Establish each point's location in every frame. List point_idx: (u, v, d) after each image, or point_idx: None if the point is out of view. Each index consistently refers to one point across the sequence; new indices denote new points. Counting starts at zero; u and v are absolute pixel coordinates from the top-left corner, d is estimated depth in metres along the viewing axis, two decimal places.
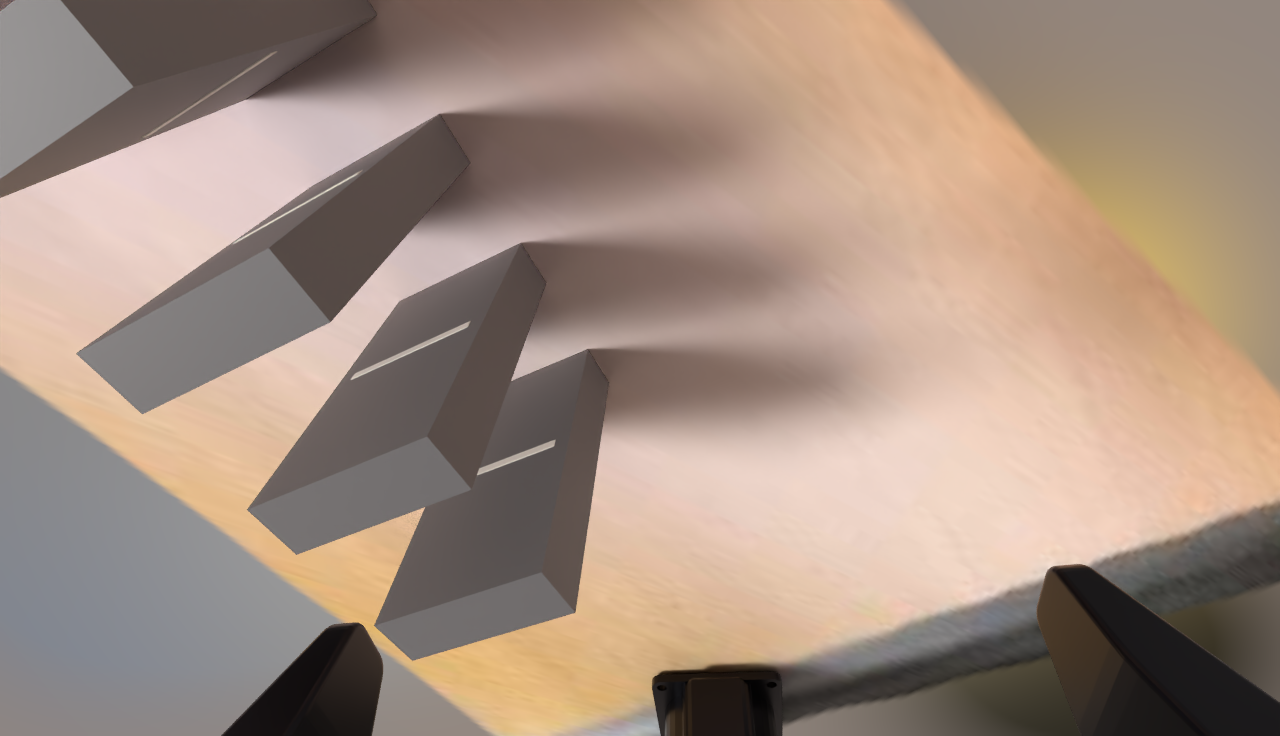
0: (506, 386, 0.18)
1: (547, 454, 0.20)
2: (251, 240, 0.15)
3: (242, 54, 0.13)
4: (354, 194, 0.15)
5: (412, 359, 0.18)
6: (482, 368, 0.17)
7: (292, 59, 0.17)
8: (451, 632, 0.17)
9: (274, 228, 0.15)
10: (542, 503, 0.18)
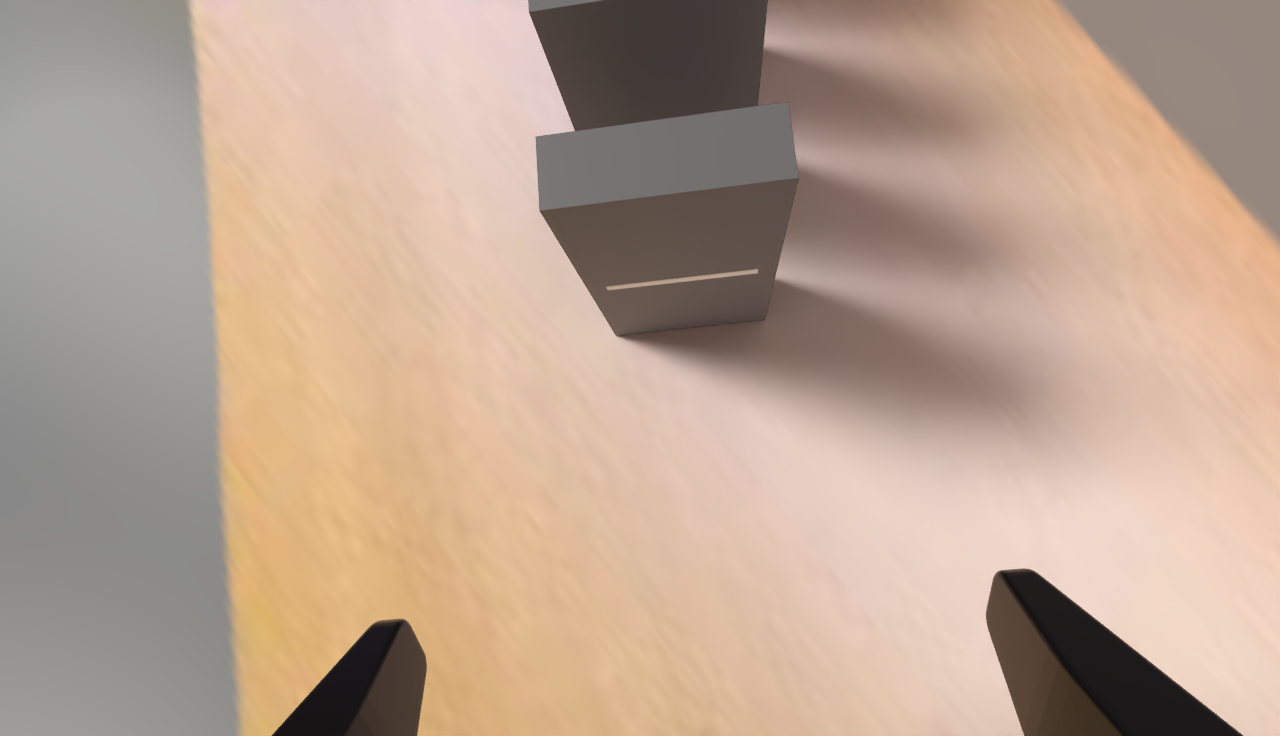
0: (759, 84, 0.17)
1: None
2: None
3: None
4: None
5: None
6: None
7: None
8: (622, 172, 0.13)
9: None
10: None
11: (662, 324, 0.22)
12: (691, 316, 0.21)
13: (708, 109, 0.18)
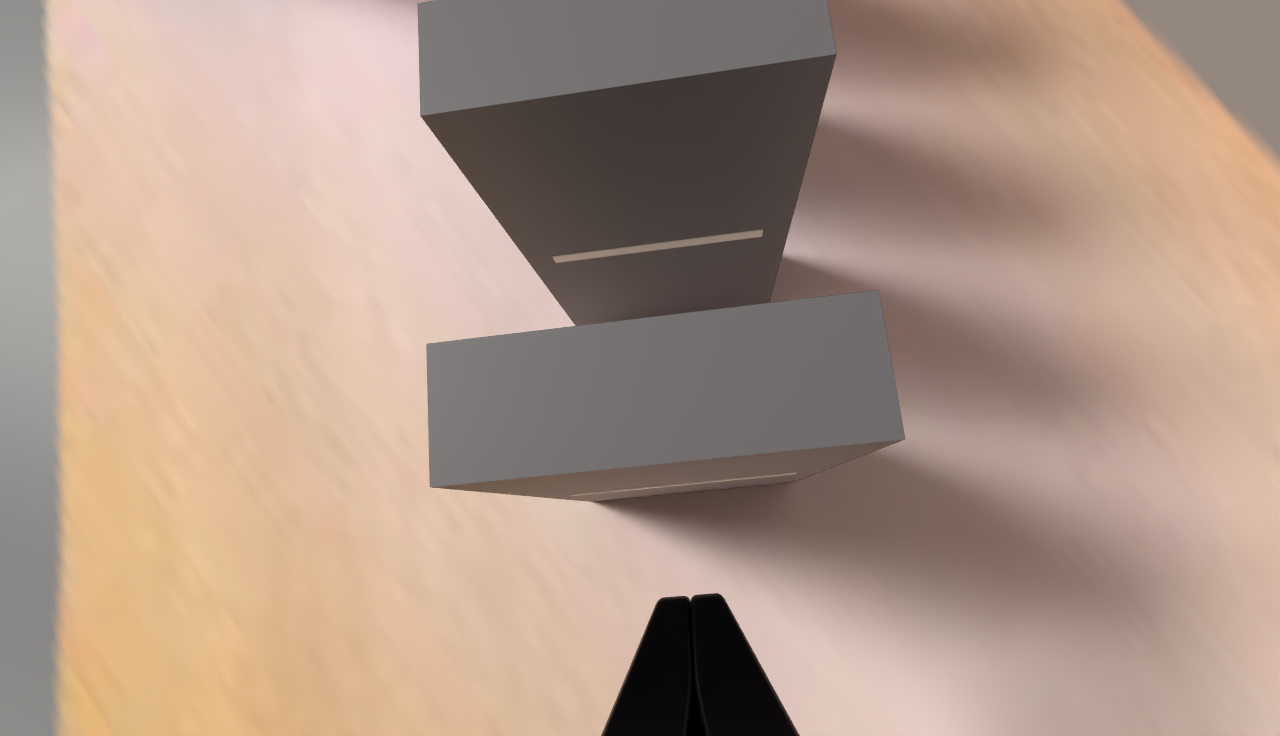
0: (796, 196, 0.12)
1: None
2: None
3: None
4: None
5: None
6: None
7: None
8: (579, 417, 0.07)
9: None
10: None
11: (654, 494, 0.16)
12: (694, 489, 0.15)
13: (718, 227, 0.12)
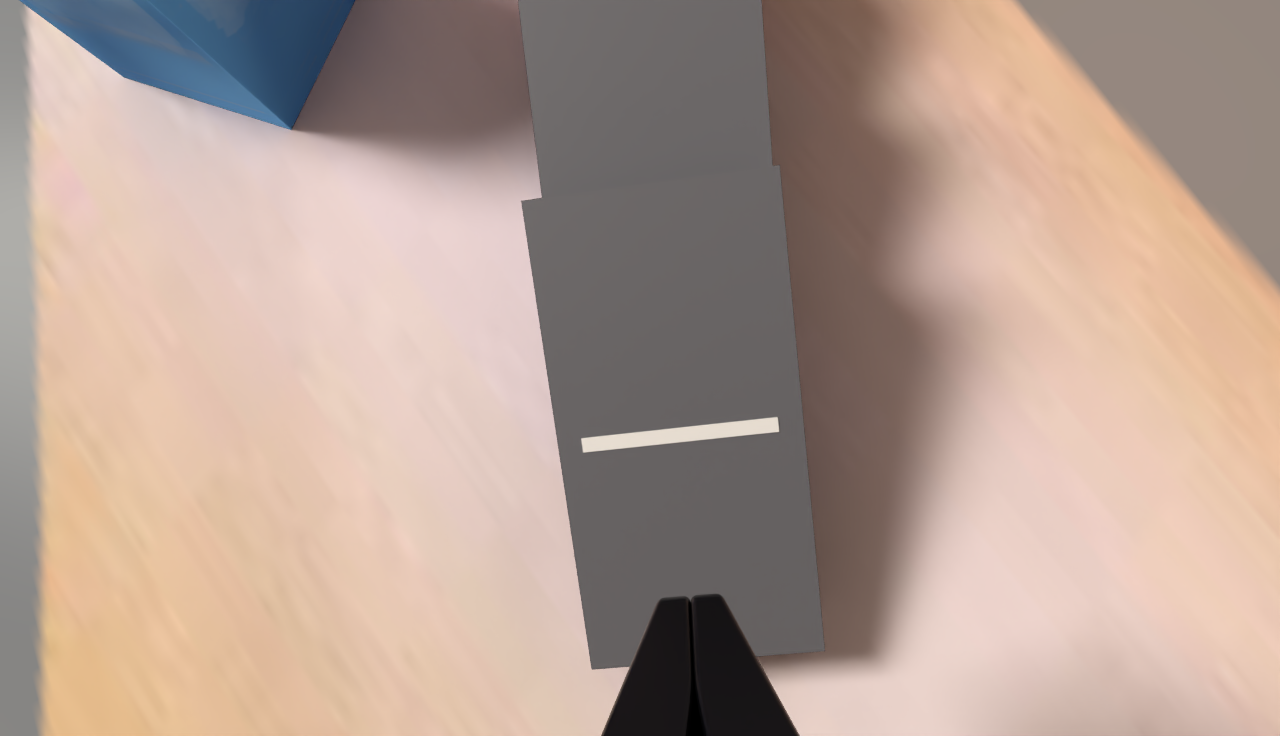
0: (770, 145, 0.14)
1: None
2: None
3: None
4: None
5: None
6: None
7: None
8: None
9: None
10: None
11: None
12: None
13: None
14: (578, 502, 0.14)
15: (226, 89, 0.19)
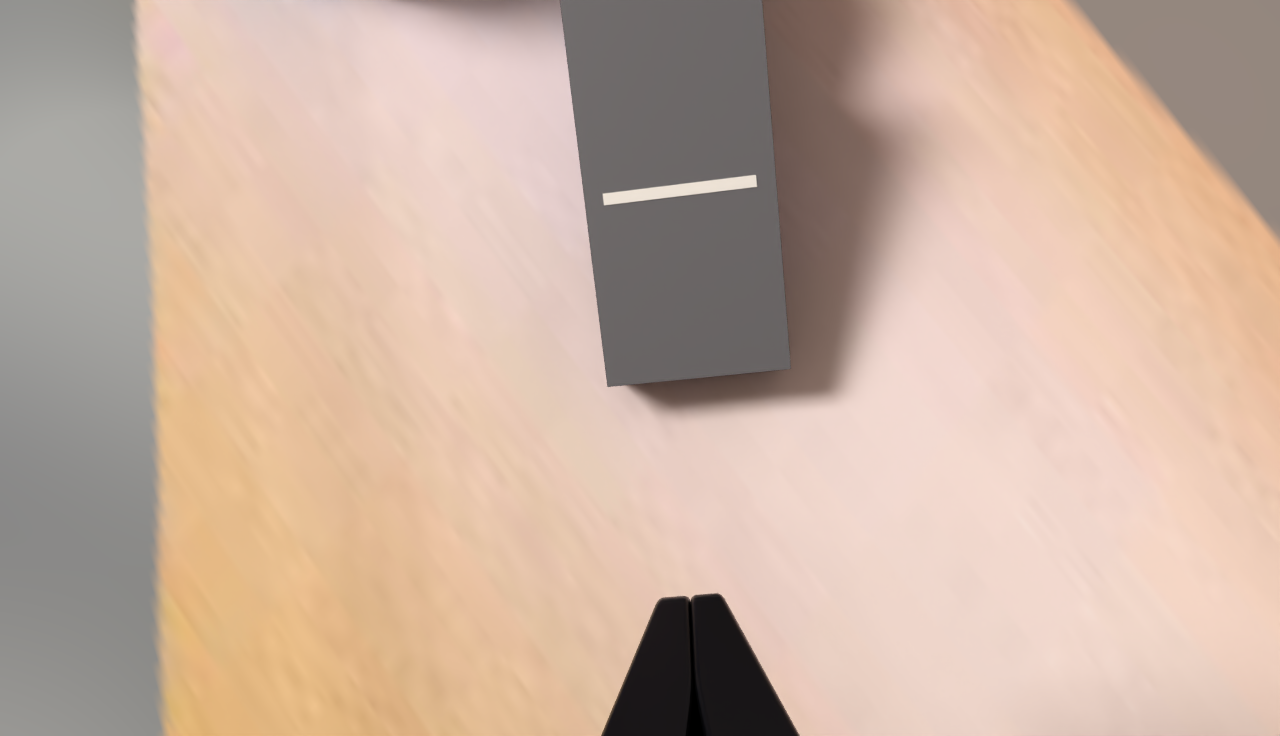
0: None
1: None
2: None
3: None
4: None
5: None
6: None
7: None
8: None
9: None
10: None
11: (663, 352, 0.18)
12: (697, 328, 0.18)
13: None
14: (599, 246, 0.18)
15: None
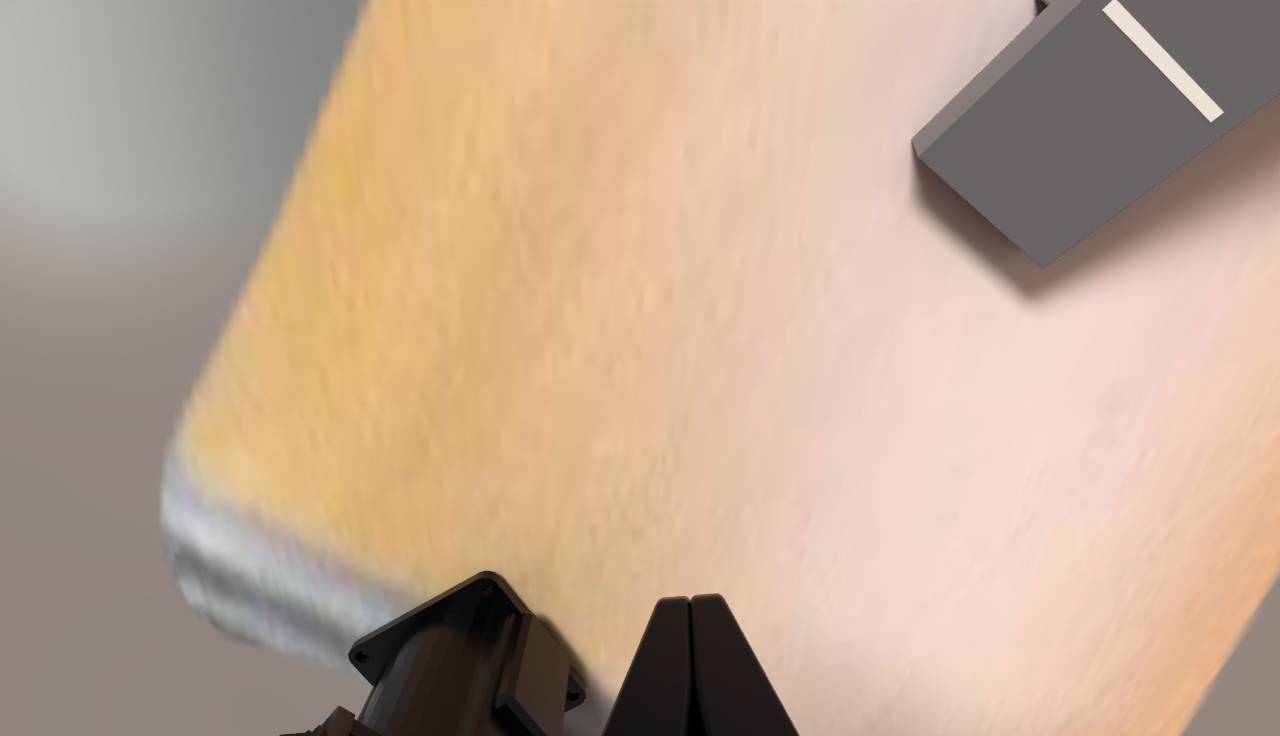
0: None
1: None
2: None
3: None
4: None
5: None
6: None
7: None
8: None
9: None
10: None
11: (985, 173, 0.18)
12: (1028, 181, 0.18)
13: None
14: (1052, 42, 0.16)
15: None
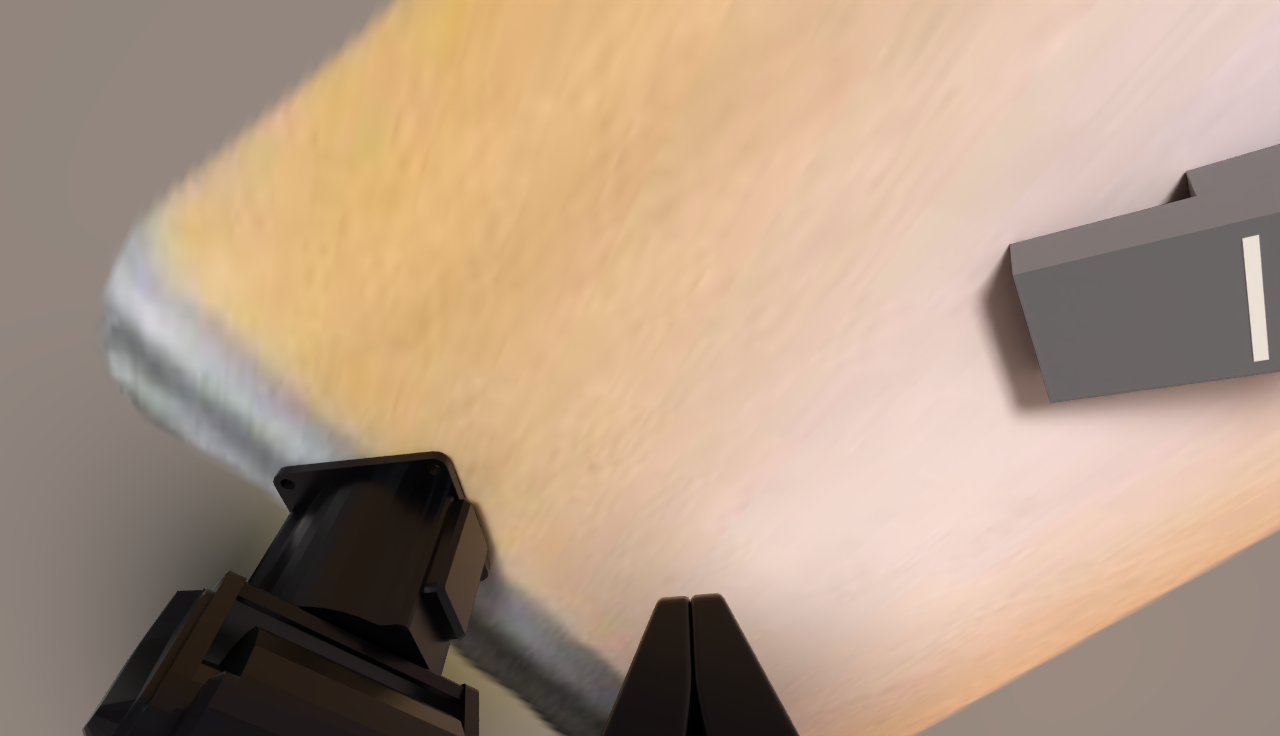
0: None
1: None
2: None
3: None
4: None
5: None
6: None
7: None
8: None
9: None
10: None
11: (1058, 314, 0.19)
12: (1086, 336, 0.19)
13: None
14: (1185, 242, 0.17)
15: None
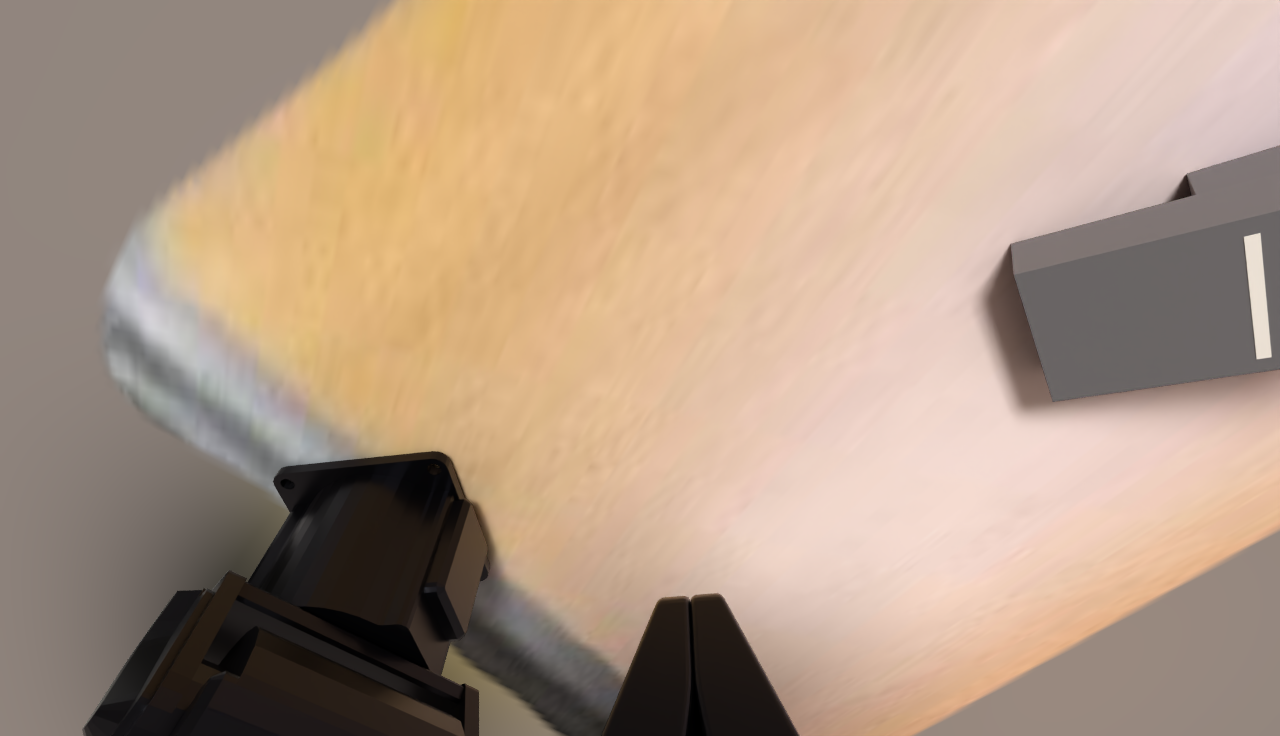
0: None
1: None
2: None
3: None
4: None
5: None
6: None
7: None
8: None
9: None
10: None
11: (1059, 313, 0.19)
12: (1088, 335, 0.19)
13: None
14: (1187, 241, 0.17)
15: None
